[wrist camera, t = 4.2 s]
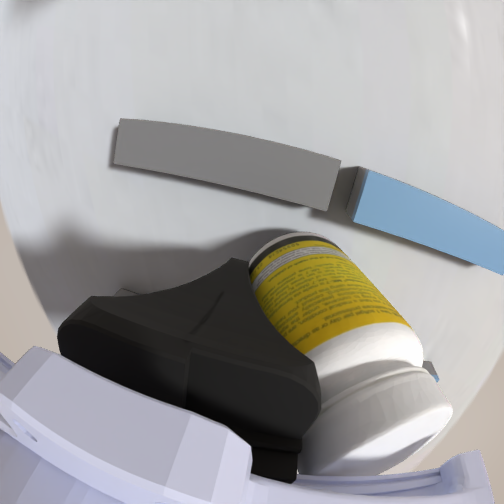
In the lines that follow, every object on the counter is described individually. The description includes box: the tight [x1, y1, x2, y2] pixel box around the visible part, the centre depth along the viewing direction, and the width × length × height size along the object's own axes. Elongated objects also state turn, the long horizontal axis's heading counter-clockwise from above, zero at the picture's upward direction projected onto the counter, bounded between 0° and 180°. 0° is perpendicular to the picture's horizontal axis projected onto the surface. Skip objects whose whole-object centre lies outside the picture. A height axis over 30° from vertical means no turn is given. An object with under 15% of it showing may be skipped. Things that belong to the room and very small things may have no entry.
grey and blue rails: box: [113, 118, 504, 382], centre depth 12 cm, size 11×19×2 cm, turn 77°
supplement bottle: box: [249, 232, 453, 476], centre depth 8 cm, size 5×5×8 cm
